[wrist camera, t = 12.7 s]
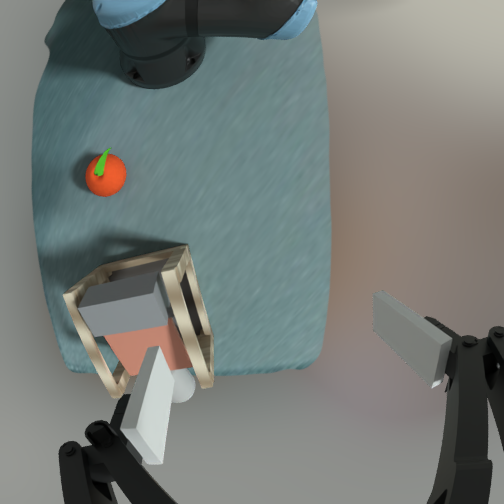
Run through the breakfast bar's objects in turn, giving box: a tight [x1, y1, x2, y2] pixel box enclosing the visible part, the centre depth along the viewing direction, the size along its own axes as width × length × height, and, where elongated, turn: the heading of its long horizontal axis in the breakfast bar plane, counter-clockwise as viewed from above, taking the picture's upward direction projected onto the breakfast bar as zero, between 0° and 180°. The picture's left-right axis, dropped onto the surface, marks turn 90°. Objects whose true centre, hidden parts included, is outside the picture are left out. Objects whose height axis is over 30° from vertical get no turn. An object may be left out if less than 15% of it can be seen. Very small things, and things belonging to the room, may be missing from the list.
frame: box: [63, 244, 214, 398], centre depth 41 cm, size 18×17×15 cm
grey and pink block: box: [78, 271, 193, 376], centre depth 36 cm, size 16×13×5 cm
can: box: [170, 368, 195, 403], centre depth 46 cm, size 8×8×12 cm
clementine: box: [85, 147, 126, 197], centre depth 39 cm, size 8×7×7 cm
